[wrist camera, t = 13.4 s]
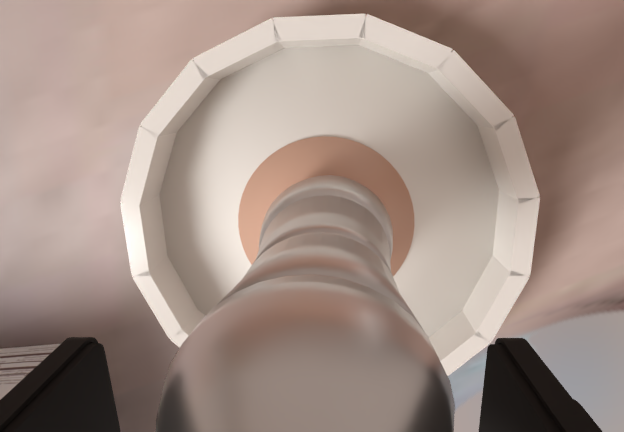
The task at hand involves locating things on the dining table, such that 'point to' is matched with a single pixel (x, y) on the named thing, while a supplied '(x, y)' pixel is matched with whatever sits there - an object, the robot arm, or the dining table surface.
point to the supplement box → (20, 364)
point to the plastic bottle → (312, 331)
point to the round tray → (334, 170)
